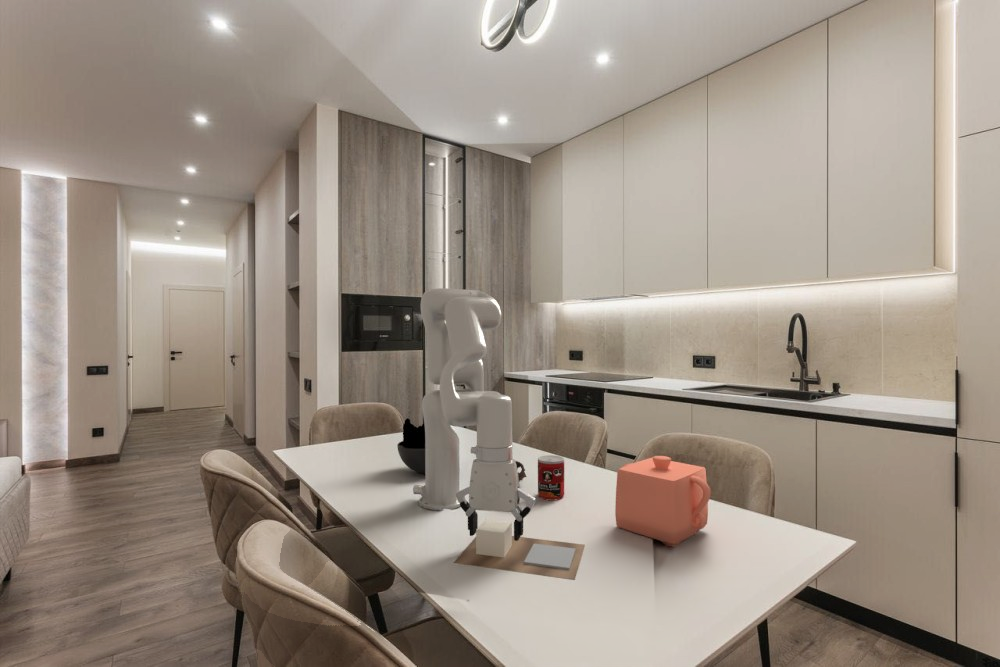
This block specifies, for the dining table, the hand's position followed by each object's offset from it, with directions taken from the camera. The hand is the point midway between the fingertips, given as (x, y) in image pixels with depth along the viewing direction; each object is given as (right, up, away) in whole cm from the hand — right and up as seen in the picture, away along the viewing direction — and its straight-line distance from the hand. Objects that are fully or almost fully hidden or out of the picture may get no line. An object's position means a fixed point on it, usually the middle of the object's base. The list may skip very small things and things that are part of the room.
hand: (495, 535), depth 102 cm
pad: (+11, -3, -3) cm, 12 cm away
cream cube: (0, -3, 0) cm, 3 cm away
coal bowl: (-24, -6, +66) cm, 71 cm away
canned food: (+16, -5, +40) cm, 44 cm away
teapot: (+42, -5, +16) cm, 45 cm away
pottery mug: (+4, -6, +54) cm, 54 cm away
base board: (+6, -5, -1) cm, 7 cm away
